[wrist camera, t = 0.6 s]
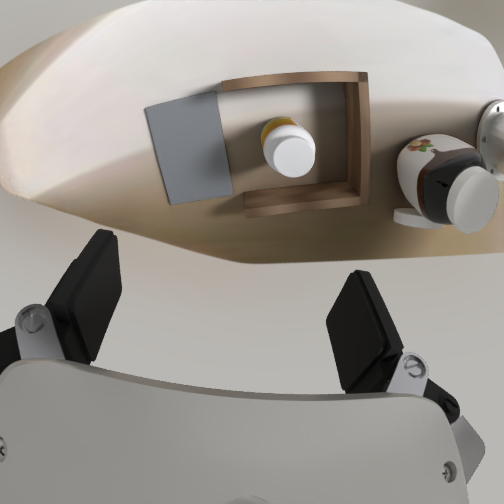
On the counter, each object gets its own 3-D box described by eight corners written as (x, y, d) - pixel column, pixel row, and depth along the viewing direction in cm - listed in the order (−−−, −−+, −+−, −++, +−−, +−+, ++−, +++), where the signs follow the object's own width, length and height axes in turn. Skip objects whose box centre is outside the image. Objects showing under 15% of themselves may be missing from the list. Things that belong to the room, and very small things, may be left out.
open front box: (351, 71, 24) (367, 72, 21) (355, 187, 32) (368, 204, 29) (225, 80, 25) (221, 81, 22) (245, 199, 33) (245, 218, 30)
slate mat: (215, 91, 26) (215, 91, 26) (233, 193, 33) (233, 194, 32) (146, 107, 26) (145, 107, 26) (171, 203, 33) (170, 204, 33)
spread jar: (445, 123, 27) (508, 154, 17) (456, 197, 33) (505, 242, 23) (368, 152, 30) (418, 194, 20) (389, 227, 36) (428, 284, 26)
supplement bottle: (252, 144, 29) (254, 169, 23) (274, 108, 27) (283, 120, 20) (289, 163, 31) (302, 194, 24) (311, 129, 28) (332, 149, 22)
